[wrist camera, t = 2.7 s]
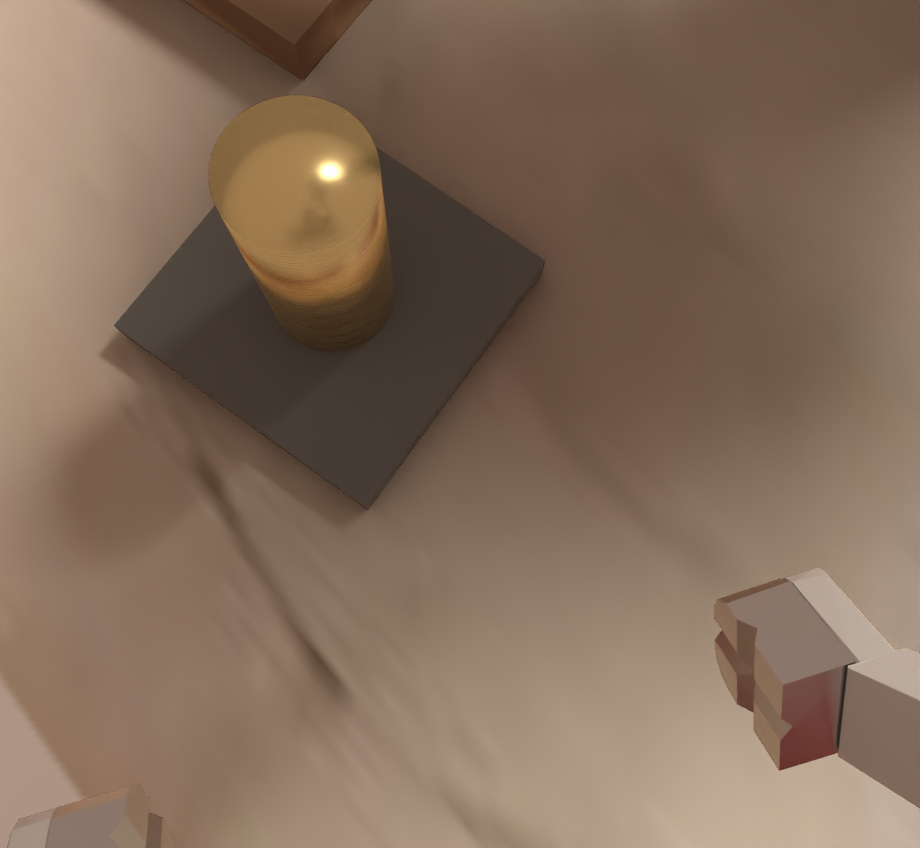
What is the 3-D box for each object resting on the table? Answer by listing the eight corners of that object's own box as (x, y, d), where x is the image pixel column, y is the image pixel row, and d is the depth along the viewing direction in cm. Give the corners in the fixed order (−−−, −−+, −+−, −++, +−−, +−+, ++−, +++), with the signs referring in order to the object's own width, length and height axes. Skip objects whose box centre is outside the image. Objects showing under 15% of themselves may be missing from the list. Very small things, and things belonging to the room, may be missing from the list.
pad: (308, 115, 30) (304, 99, 29) (541, 272, 29) (545, 261, 28) (125, 335, 28) (113, 325, 27) (367, 509, 28) (365, 506, 27)
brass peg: (321, 213, 28) (279, 65, 21) (418, 280, 28) (413, 155, 20) (246, 306, 28) (173, 189, 20) (345, 375, 27) (311, 284, 20)
